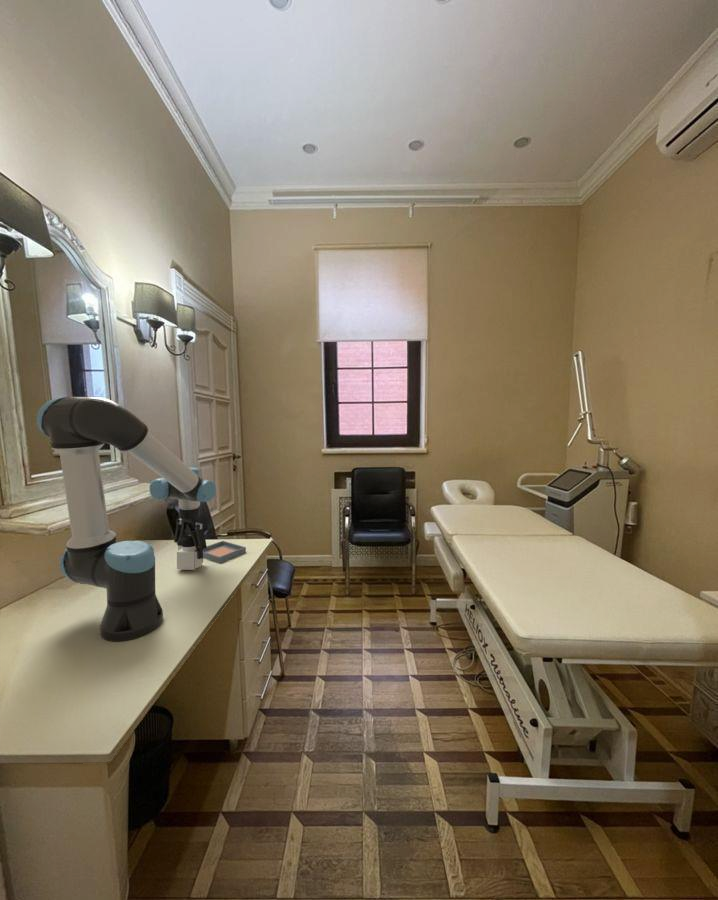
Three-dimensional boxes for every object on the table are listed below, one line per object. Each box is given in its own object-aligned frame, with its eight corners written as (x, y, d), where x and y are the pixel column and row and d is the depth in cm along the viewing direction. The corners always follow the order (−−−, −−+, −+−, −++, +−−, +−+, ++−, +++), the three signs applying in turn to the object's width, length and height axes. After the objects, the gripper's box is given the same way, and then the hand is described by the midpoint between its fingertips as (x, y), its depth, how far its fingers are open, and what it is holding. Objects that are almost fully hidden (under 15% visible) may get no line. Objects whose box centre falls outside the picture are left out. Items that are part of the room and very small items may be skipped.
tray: (219, 563, 147) (219, 557, 146) (195, 555, 154) (195, 550, 154) (245, 552, 159) (245, 547, 159) (222, 545, 166) (222, 540, 166)
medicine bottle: (194, 570, 138) (194, 539, 137) (176, 569, 138) (176, 539, 137) (203, 563, 145) (203, 533, 144) (185, 562, 145) (185, 533, 144)
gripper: (216, 509, 137) (217, 566, 139) (180, 501, 148) (181, 554, 150) (199, 513, 131) (199, 573, 132) (163, 505, 142) (164, 560, 143)
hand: (190, 563), depth 141 cm, fingers closed on medicine bottle, 9 cm apart
